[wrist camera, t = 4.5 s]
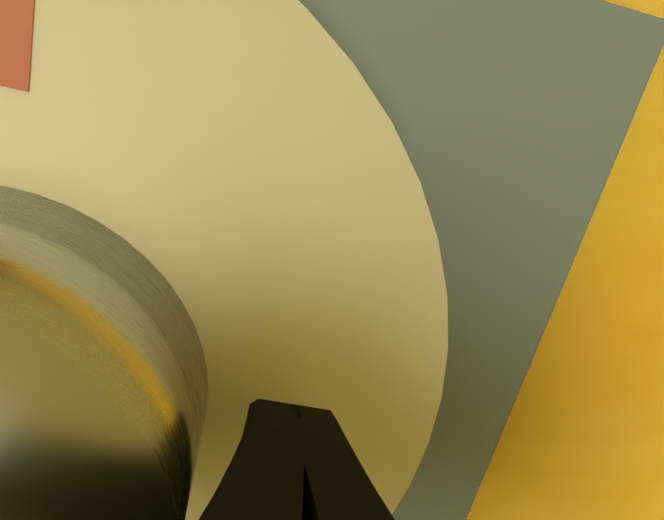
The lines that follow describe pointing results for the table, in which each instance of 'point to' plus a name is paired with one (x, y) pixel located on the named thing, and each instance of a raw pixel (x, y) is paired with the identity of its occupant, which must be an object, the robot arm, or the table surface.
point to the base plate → (497, 180)
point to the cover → (92, 372)
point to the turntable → (244, 206)
